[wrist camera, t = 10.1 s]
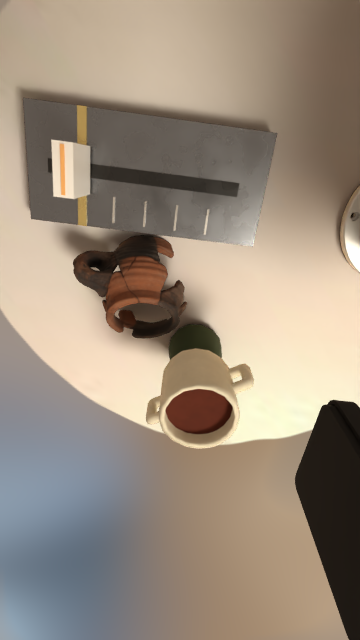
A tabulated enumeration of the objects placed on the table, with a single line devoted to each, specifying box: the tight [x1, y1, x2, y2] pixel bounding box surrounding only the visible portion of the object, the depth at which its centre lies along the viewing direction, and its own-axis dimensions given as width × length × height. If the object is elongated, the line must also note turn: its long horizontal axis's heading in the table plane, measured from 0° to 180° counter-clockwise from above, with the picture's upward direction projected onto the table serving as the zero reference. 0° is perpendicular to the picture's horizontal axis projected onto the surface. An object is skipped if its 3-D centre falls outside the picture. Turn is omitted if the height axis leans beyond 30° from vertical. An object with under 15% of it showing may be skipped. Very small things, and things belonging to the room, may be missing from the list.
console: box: [23, 98, 277, 247], centre depth 31 cm, size 22×10×2 cm, turn 83°
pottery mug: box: [73, 235, 187, 338], centre depth 35 cm, size 12×10×8 cm
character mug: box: [146, 324, 254, 449], centre depth 34 cm, size 11×7×13 cm, turn 116°
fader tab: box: [51, 140, 90, 199], centre depth 28 cm, size 2×4×5 cm, turn 173°
